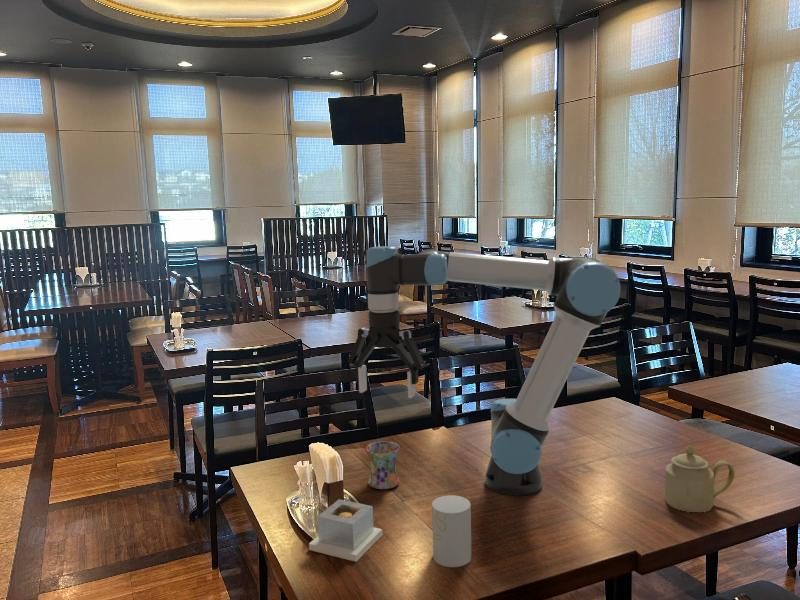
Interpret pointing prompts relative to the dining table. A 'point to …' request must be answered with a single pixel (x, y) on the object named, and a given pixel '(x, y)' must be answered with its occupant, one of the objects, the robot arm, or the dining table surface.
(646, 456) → the dining table surface
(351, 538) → the grey block with hole
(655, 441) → the dining table surface
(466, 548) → the white upright cylinder
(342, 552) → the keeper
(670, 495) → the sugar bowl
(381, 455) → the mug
